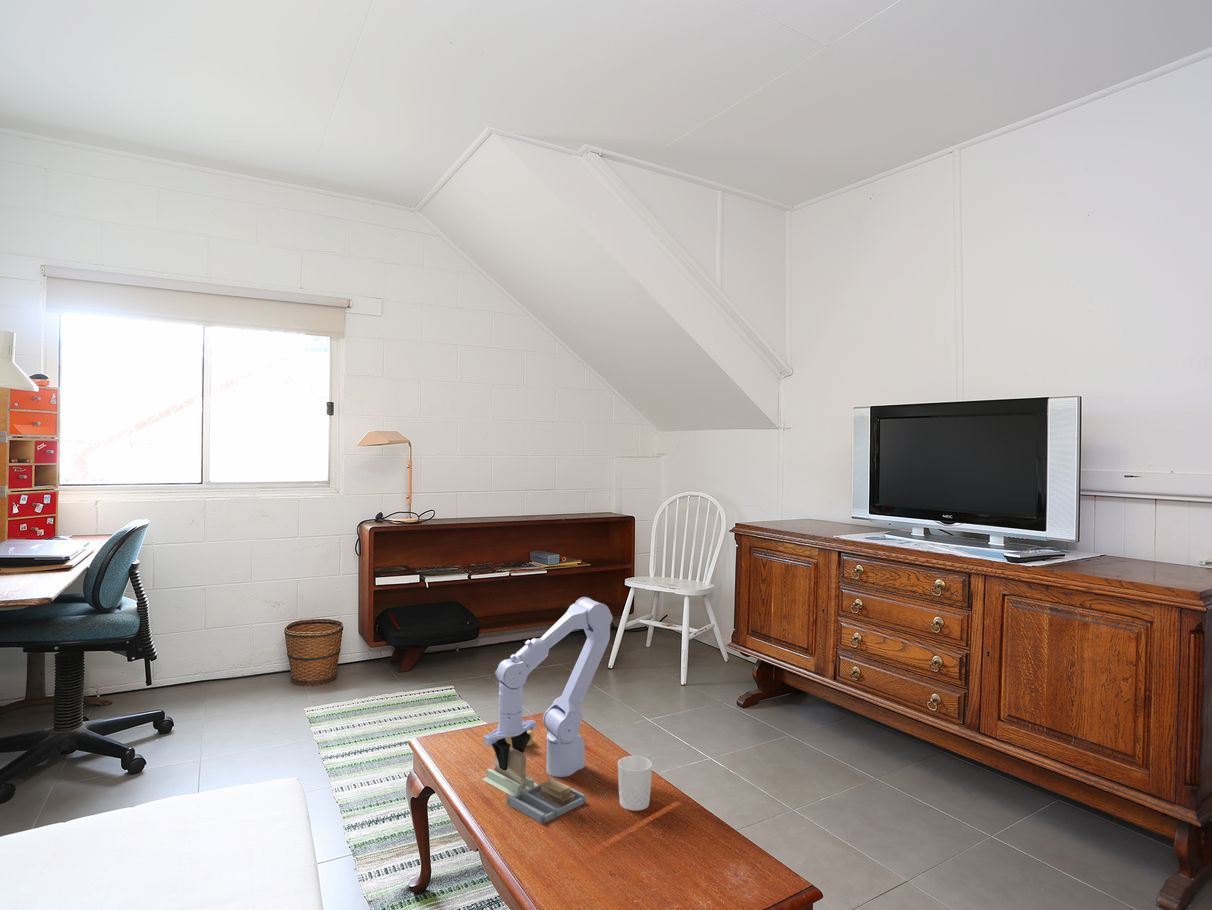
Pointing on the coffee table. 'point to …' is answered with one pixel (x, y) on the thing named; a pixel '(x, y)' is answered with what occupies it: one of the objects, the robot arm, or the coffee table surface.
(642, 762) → the white cup
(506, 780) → the stand
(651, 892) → the coffee table surface
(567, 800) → the offcut lower
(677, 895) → the coffee table surface
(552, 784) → the offcut upper
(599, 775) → the coffee table surface
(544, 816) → the tray
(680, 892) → the coffee table surface
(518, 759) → the birch sheet
